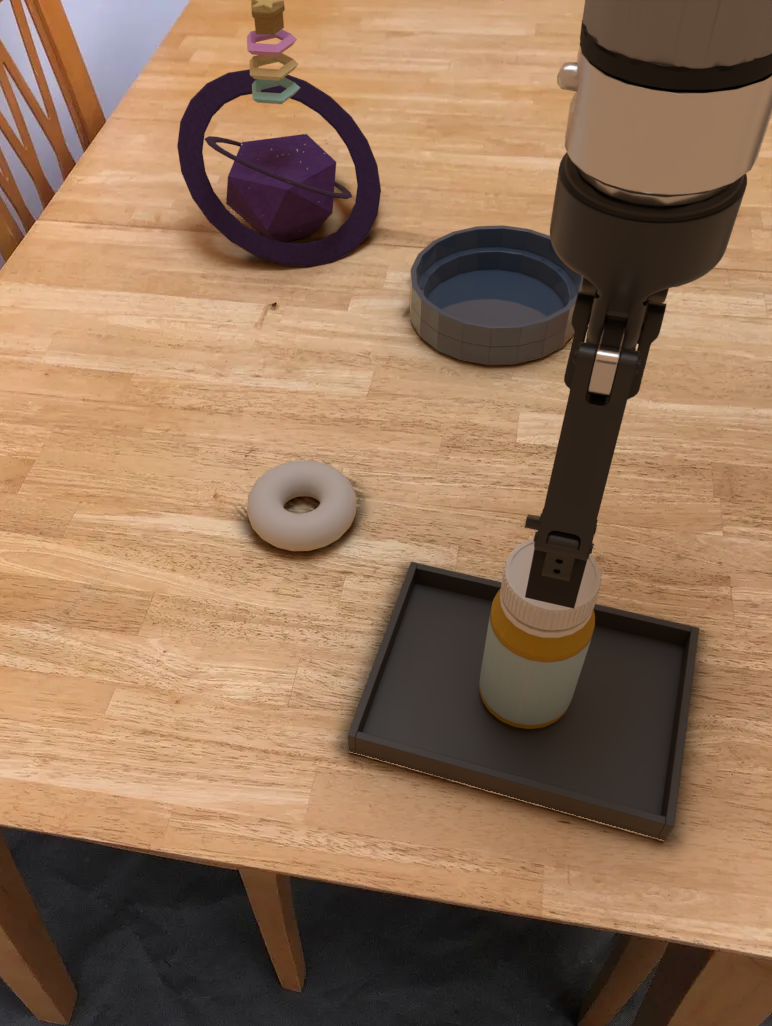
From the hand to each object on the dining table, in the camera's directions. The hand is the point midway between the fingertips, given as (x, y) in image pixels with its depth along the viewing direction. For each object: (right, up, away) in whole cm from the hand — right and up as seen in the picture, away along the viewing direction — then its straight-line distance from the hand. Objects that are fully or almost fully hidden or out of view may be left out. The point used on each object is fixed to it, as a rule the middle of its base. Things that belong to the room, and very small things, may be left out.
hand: (572, 510), depth 55 cm
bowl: (+4, +26, +46) cm, 53 cm away
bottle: (+1, -13, +17) cm, 21 cm away
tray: (+1, -13, +17) cm, 22 cm away
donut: (-17, +2, +30) cm, 34 cm away
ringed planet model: (-19, +40, +59) cm, 73 cm away
